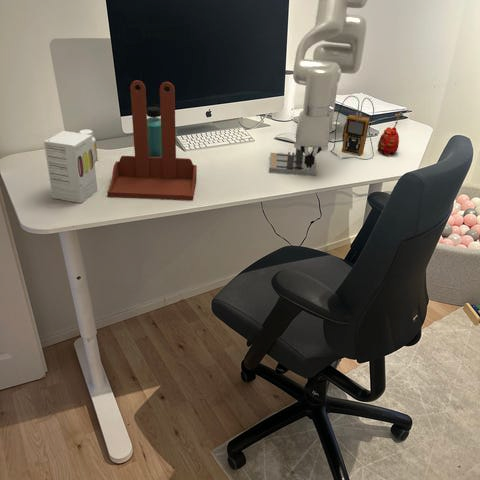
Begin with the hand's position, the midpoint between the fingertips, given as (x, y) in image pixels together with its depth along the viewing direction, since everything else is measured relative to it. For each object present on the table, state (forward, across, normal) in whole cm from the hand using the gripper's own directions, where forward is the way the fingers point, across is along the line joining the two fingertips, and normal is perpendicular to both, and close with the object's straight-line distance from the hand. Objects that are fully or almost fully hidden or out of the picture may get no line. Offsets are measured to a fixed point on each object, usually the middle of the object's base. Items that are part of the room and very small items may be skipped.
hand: (308, 166), depth 165 cm
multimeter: (+3, -15, -17) cm, 23 cm away
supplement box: (+3, +67, +26) cm, 72 cm away
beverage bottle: (+3, +48, +6) cm, 48 cm away
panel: (+3, +5, -5) cm, 7 cm away
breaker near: (+1, +6, 0) cm, 6 cm away
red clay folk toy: (+3, -29, -23) cm, 37 cm away
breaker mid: (+1, +3, -5) cm, 6 cm away
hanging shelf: (+3, +46, +19) cm, 50 cm away
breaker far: (+1, +3, -10) cm, 10 cm away
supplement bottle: (+3, +71, +2) cm, 71 cm away
